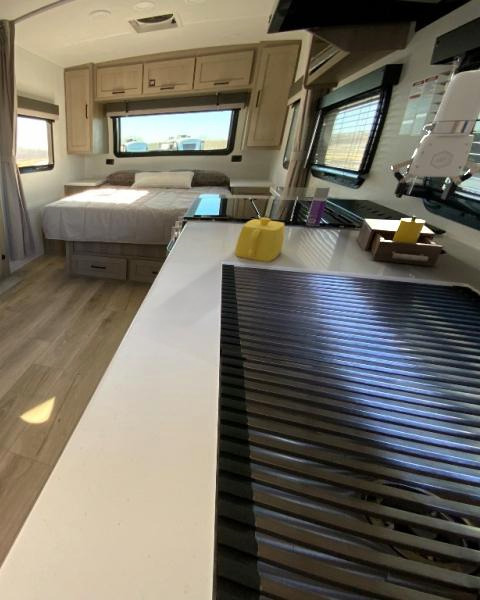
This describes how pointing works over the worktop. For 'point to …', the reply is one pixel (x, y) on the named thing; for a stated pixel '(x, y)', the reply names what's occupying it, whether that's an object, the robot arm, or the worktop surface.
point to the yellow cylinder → (409, 230)
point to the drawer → (404, 250)
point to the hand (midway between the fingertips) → (420, 198)
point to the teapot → (260, 240)
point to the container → (317, 206)
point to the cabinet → (382, 226)
